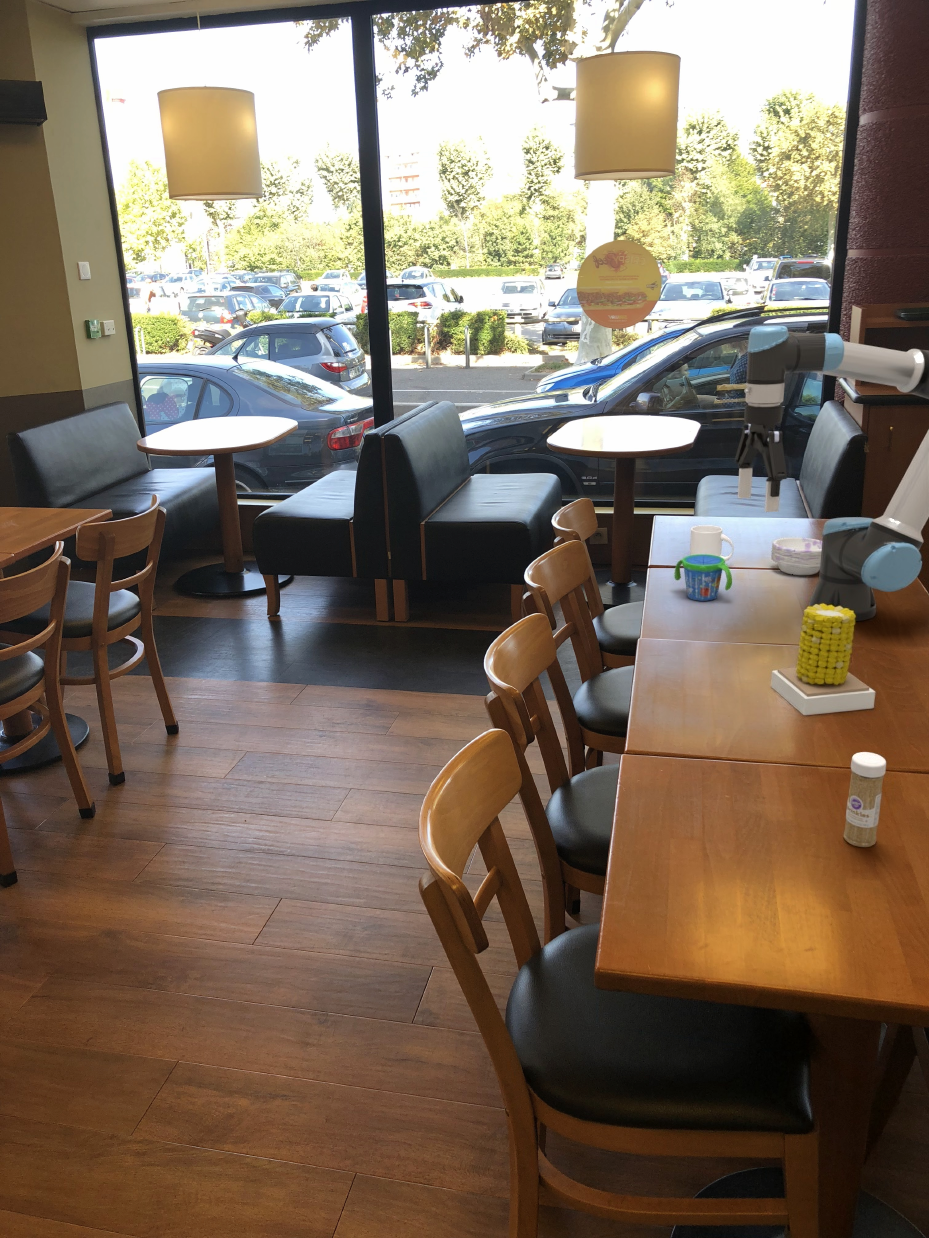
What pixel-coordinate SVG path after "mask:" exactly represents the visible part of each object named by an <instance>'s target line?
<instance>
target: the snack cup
mask: <svg viewBox="0 0 929 1238" xmlns="http://www.w3.org/2000/svg"><path fill="white" fill-rule="evenodd" d="M725 562H726V561H725V560H724V559H723V558H722V557H719V556H715V555H707V554H698V555H690V554H689V555H687V556H685V557H683V558H682V559H680V560H679V561H678V562H677V563H676V565H675V568H674V574H673V577H674V580H675V581H680V579H682V575H681V568H680V567H681V566H682V567H683V571H684V572H683V573H684V580H685V588H686V594H687V597H688V598H689V599H691V600H694V601H700V602H701V601H702V602H705V601H712V600H716V598H717V597H718V594H719V590H720V583H721V581H722V574H723V571H724V573H725V577H726V583H725V587H724V590H725V591H729V590H731V588H732V585H733V576H732V572H731V570H730V567H729V566H728V565H727V564H726V563H725Z"/></svg>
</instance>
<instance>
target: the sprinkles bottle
mask: <svg viewBox="0 0 929 1238" xmlns="http://www.w3.org/2000/svg"><path fill="white" fill-rule="evenodd" d="M886 769H887V761H886V759H885V757H883V756H881V755H880V754H877V753H874V752H868V751H862V752H861V751H860V752H856V753H855V754H853V756H852V757H851V763H850V770H851V775H850V783H849V791H848V798H847V803H846V812H845V813H846V814H845V819H846V820H845V825H844V832H843V838H844V840H845V841H846V842H847V843H849V844H850V845H852V846H855V847H858V848H859V847H860V848H869V847H872V846H874V845H875V844H876V842H877V831H878V830H877V829H878V825H879V820H880V819H879V817H880V808H881V801H882V792H883V791H882V789H883V781H884V776H885V774H886Z"/></svg>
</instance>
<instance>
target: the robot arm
mask: <svg viewBox="0 0 929 1238" xmlns="http://www.w3.org/2000/svg"><path fill="white" fill-rule="evenodd" d="M746 350H747V367H746V369H747V370H746V384H745V388H744V393H745V402H746V403H747V404H746V405H745V406H744V417H743V421H744V423H743V424H742V433H741V435H740V440H739V444H738V446H737V451H736V453H735V457H734V463H735V464H737V467H738V469H739V470H738V483H737V484H738V485H737V488H738V489H737V499H751V498H752V483H753V481H752V480H753V467H754V464H753V462H754V460H755V458H756V456H757V454H758V451H759V453H760V454H761V455H762V458H763V462H764V465H765V469H766V472H767V473H766V474H767V476H768V477H767V478H766V479H765V482H766V483H765V484H766V487H765V501H764V503H765V504H764V512H765V513H773V512H774V513H775V512H779V509H780V497H781V481H783V480H787V479H788V472H787V464H786V457H785V453H784V450H785V449H784V444H783V437H784V436H783V431H782V430H780V431H775V430H776V429H775V426H776V425H779V424H780V423H781V422H782V421H783V419H782V418H783V405H782V403H783V402H784V398H785V397H784V393H785V378H786V374H792V373H816V374H821V375H827V376H832V377H839V378H844V379H851V380H856V381H857V380H858V381H862V382H863V381H864V382H869V383H874V384H880V385H887V386H892V387H895V388H897V390H898V391H899V392H901V393H904V394H905V393H906V394H911V395H915V396H918V397H922V398H925V399H928V400H929V350H925V349H918V348H911V349H909V350H908V351H903V350H902V351H901V350H896V349H889V348H886V347H878V346H873V345H867V344H862V343H857V342H856V343H855V342H850V341H849V342H848V341H844V340H843V338H842V337H841V335H839V334H838V333H827V332H823V333H810V332H809V333H808V332H795V331H789V330H788V327H787V326H785V325H760V326H755V327H752V328H751V330H750V332H749V337H748V344H747V349H746ZM928 519H929V429H928V430H927V432H926V434H925V436H924V438H923V439H922V441H921V443H920V445H919V448H918V449H917V450H916V453H915V454H914V456H913V458H912V460H911V462H910V464H909V466H908V468H907V469H906V471H905V474H904V476H903V477H902V479H901V481H900V483H899V485H898V487H897V488H896V490H895V492H894V494H893V496H892V497H891V500H890V501H889V503H888V505H887V507H886V509H885V511H884V512H883V515H881V516H879V517H877V518H871V517H860V516H859V517H858V516H856V517H854V516H853V517H851V516H850V517H847V516H846V517H836V518H831V519H828V520H827V521H825V523H824V525H823V530H822V533H821V537H822V540H821V541H822V551H821V563H820V570H819V574H818V575H819V576H818V577H819V578H818V580H817V583H816V585H815V587H814V590H813V592H812V594H811V596H810V598H809V603H808V604H809V605H808V607H812V606H814V605H815V604H818V605H820V604H823V603H824V604H825V605H827V606H828V605H832V606H834V607H838V606H841V607H842V608H848V609H849V610H851V611H854V614H855V616H856V617H855V622H860V621H861V622H862V621H867V620H869V619H872V618H874V616H876V611H877V603H876V598H875V595H874V591H873V590H879V591H882V592H886V593H888V592H889V593H893V592H897V591H899V590H901V589H905V588H907V587H908V586H909V585H910V584H912V583H913V582H914V581H915V580H916V578H917V577H918V576H919V575H920V572H921V570H922V565H923V561H922V554H921V552H920V550H921V547H922V545H923V543H924V539H923V536H922V531H923V528H924V526H925V525H926V523H927V521H928Z"/></svg>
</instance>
